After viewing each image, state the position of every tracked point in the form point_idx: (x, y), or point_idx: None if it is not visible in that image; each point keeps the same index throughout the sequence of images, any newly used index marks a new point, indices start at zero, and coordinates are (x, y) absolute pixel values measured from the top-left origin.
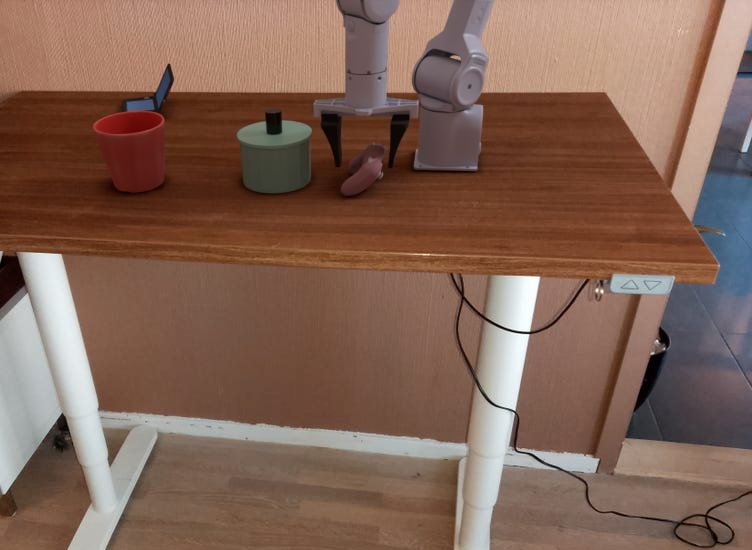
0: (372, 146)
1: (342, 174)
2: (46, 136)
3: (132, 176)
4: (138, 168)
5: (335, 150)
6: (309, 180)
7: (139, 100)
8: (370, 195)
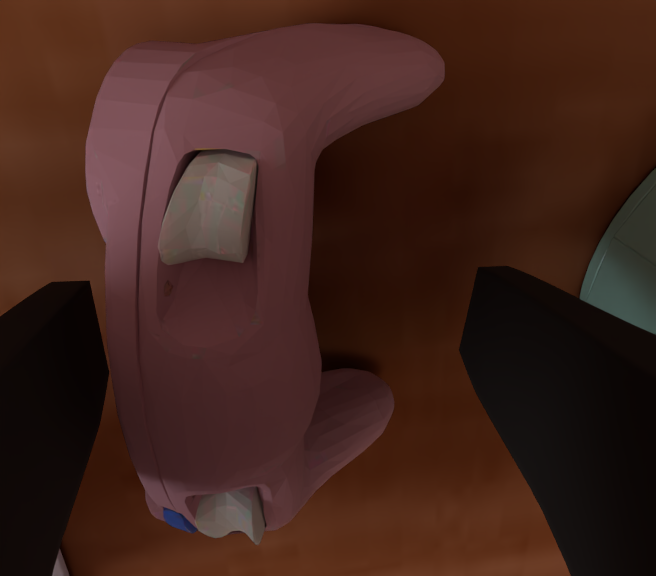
0: (241, 448)
1: (410, 364)
2: None
3: None
4: None
5: (601, 326)
6: (595, 261)
7: None
8: None
